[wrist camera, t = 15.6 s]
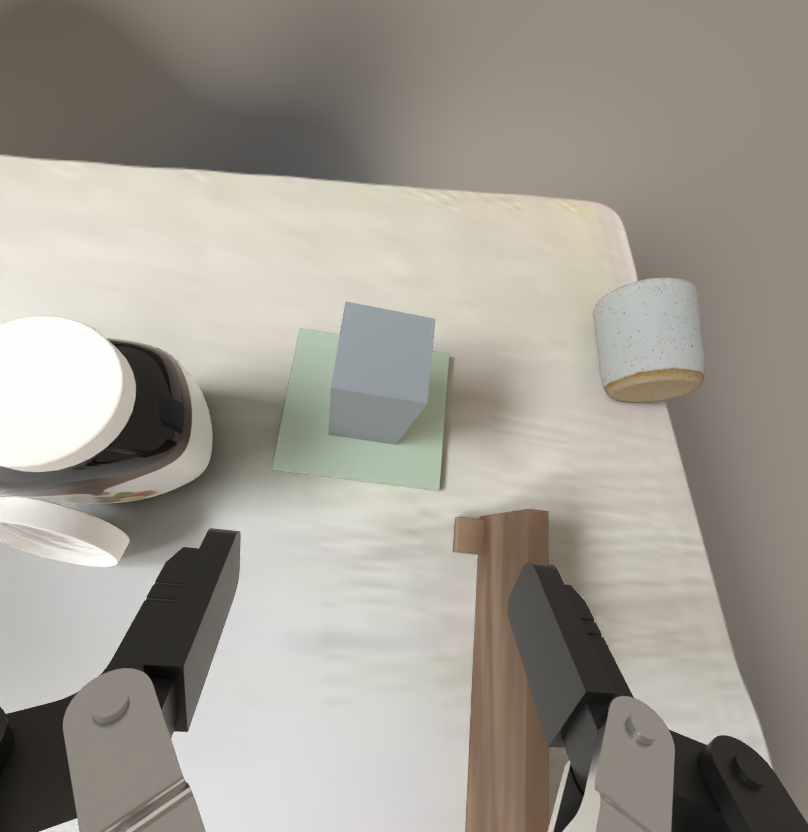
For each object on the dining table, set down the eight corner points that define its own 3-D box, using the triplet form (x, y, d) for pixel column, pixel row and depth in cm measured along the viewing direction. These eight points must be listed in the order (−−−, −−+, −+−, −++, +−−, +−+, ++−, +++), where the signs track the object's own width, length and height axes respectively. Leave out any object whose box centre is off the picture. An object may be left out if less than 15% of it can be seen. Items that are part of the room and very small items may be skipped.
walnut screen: (425, 988, 24) (473, 1196, 16) (455, 513, 31) (497, 504, 24) (510, 983, 24) (593, 1182, 17) (518, 521, 32) (578, 515, 25)
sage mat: (272, 470, 30) (271, 468, 29) (299, 331, 33) (299, 327, 33) (437, 491, 32) (439, 490, 31) (447, 357, 35) (449, 354, 34)
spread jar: (213, 380, 31) (153, 293, 20) (238, 536, 28) (185, 533, 17) (21, 412, 28) (-171, 330, 17) (30, 588, 26) (-191, 624, 15)
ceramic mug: (585, 404, 36) (652, 370, 29) (574, 318, 38) (634, 267, 31) (691, 411, 38) (778, 382, 31) (675, 329, 41) (753, 284, 33)
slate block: (328, 434, 31) (330, 387, 21) (338, 371, 32) (345, 301, 23) (397, 445, 32) (429, 403, 22) (404, 382, 33) (438, 319, 24)
